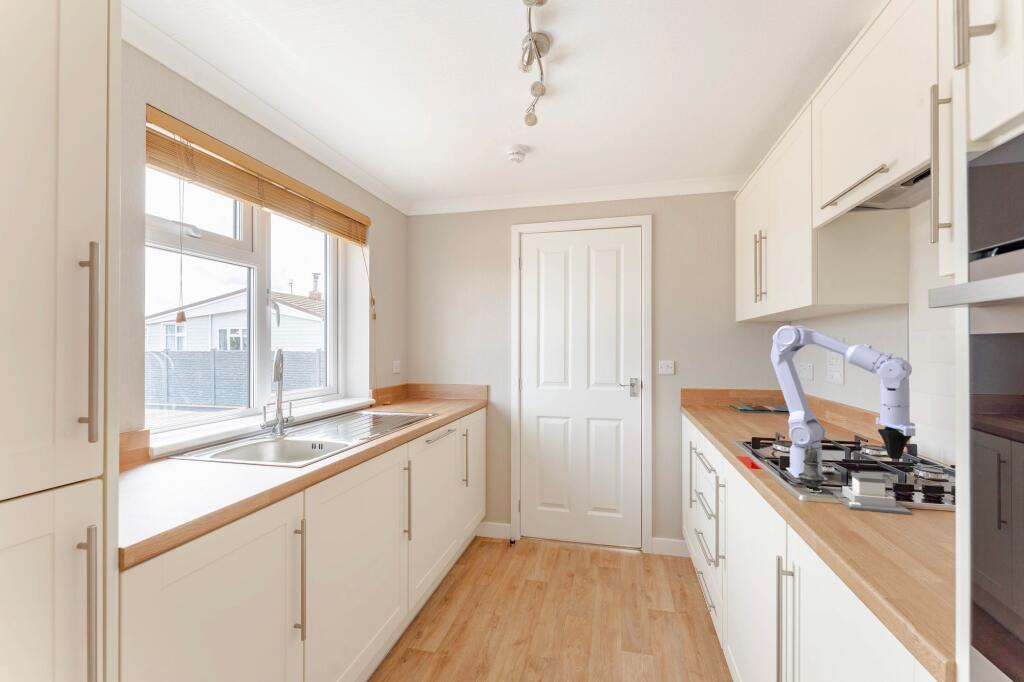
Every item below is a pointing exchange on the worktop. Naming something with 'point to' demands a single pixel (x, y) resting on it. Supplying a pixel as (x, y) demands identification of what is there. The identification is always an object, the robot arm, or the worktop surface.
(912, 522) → the worktop surface
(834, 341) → the robot arm
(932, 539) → the worktop surface
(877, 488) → the plug
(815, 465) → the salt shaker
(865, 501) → the socket plate
